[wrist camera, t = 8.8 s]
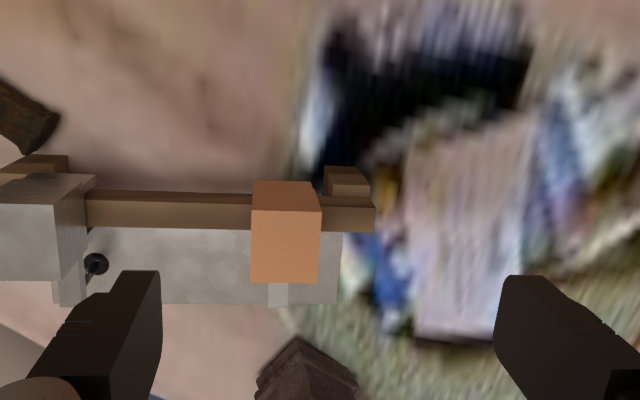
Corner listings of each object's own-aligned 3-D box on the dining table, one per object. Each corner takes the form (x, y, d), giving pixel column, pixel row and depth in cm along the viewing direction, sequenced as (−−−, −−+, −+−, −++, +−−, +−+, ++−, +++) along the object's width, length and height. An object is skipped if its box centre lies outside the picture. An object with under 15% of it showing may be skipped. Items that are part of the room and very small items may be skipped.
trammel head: (254, 161, 42) (251, 210, 30) (305, 163, 43) (322, 212, 31) (251, 274, 46) (247, 357, 34) (299, 275, 46) (311, 357, 34)
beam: (29, 154, 41) (-27, 182, 33) (357, 166, 45) (377, 195, 37) (34, 199, 43) (-19, 237, 35) (353, 208, 46) (372, 244, 38)
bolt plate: (48, 216, 43) (43, 221, 42) (341, 223, 46) (342, 227, 46) (57, 297, 46) (53, 303, 45) (334, 299, 49) (336, 304, 48)
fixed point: (56, 153, 40) (-28, 202, 28) (113, 155, 41) (53, 205, 29) (68, 272, 44) (-3, 360, 32) (120, 273, 44) (69, 359, 32)
